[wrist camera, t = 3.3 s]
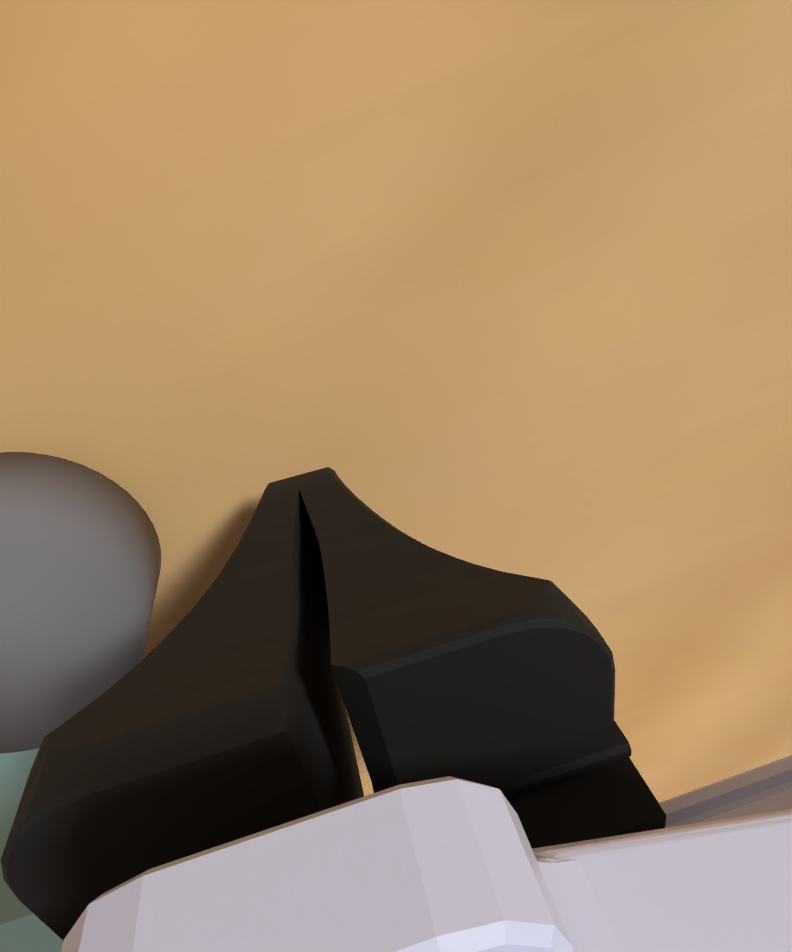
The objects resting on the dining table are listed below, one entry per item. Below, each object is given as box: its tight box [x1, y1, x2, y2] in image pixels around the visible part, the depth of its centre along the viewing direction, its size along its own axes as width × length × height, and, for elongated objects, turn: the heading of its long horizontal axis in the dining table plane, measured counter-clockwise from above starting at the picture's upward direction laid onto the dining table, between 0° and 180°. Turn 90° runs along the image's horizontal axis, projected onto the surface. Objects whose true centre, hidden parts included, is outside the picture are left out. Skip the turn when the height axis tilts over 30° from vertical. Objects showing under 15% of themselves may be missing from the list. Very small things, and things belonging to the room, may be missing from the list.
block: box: [0, 748, 63, 952], centre depth 13 cm, size 4×4×5 cm
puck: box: [0, 452, 161, 754], centre depth 11 cm, size 5×5×3 cm
